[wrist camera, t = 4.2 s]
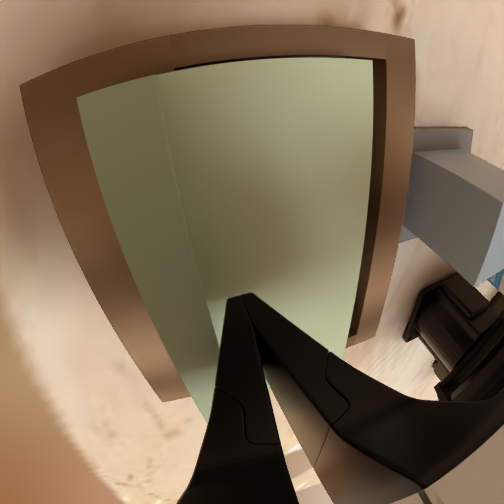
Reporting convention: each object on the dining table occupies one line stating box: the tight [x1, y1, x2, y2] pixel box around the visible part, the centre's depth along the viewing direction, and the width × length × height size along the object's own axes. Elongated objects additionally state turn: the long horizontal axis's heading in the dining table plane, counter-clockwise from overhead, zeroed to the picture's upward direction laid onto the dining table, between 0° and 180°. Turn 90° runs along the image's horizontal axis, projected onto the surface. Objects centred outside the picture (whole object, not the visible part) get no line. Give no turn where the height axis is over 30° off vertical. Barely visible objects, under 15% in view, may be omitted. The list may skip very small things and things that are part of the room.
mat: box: [399, 127, 473, 243], centre depth 16 cm, size 7×7×1 cm
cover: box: [77, 58, 373, 424], centre depth 10 cm, size 14×7×3 cm, turn 5°
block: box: [403, 149, 504, 287], centre depth 13 cm, size 4×4×6 cm
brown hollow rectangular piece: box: [20, 25, 416, 402], centre depth 12 cm, size 16×13×3 cm
